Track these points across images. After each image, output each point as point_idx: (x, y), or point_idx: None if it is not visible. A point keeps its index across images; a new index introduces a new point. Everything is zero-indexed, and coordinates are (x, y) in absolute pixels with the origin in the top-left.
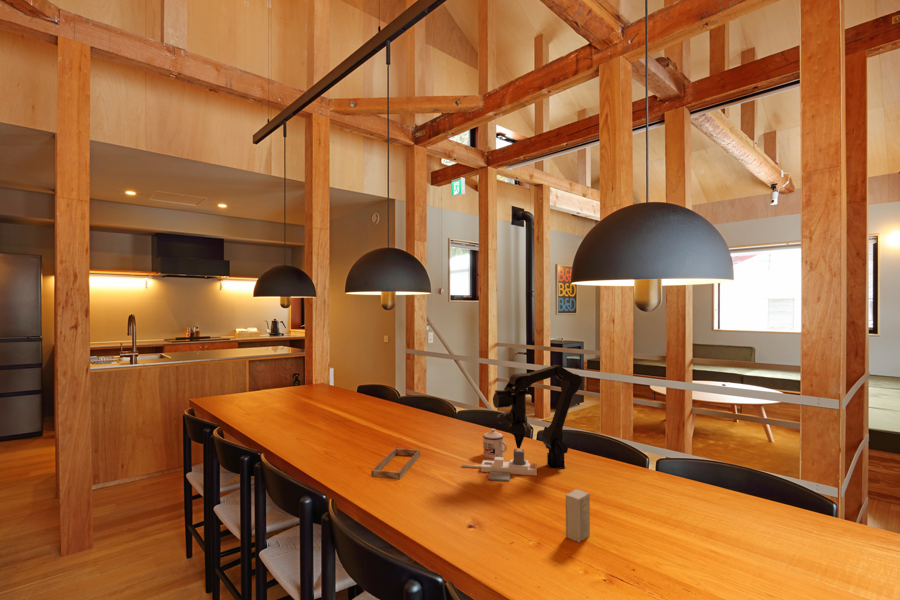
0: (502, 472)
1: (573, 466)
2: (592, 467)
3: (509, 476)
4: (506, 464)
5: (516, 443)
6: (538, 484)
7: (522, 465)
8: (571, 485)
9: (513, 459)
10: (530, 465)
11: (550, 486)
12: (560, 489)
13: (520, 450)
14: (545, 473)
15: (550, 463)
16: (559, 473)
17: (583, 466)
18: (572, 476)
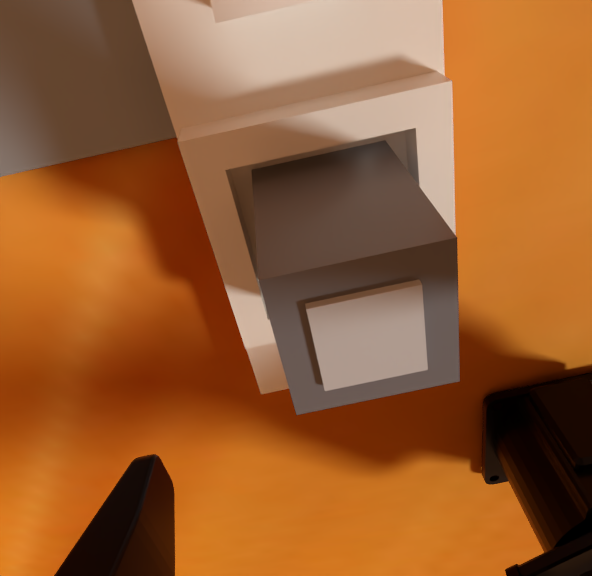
0: (109, 28)
1: None
2: None
3: (31, 161)
4: (317, 38)
5: (68, 567)
6: (65, 413)
7: (251, 293)
8: (182, 550)
9: (448, 127)
10: None
11: (83, 478)
12: (72, 526)
13: (364, 364)
14: None
15: (526, 417)
16: (376, 468)
17: None
18: (345, 528)
